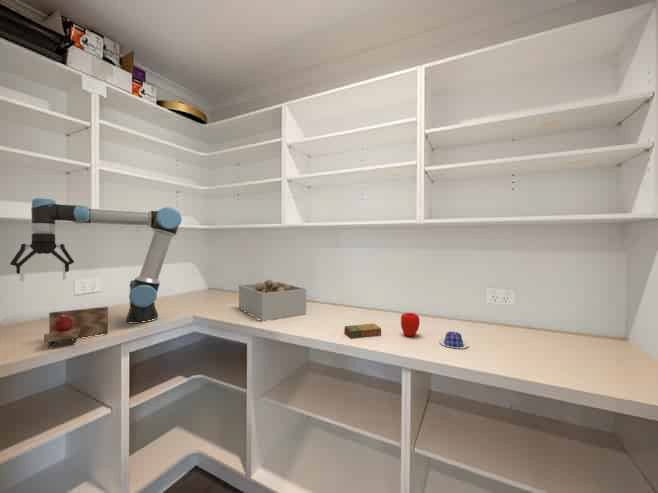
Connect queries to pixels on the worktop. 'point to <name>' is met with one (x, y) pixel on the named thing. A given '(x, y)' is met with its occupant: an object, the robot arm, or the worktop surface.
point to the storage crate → (272, 302)
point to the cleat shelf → (61, 336)
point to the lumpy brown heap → (269, 285)
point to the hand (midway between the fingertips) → (43, 280)
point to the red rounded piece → (409, 323)
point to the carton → (362, 331)
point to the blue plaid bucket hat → (453, 340)
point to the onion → (63, 324)
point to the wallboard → (83, 321)
